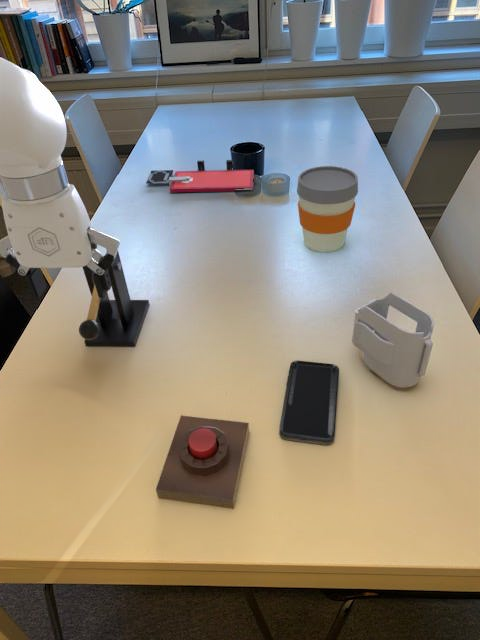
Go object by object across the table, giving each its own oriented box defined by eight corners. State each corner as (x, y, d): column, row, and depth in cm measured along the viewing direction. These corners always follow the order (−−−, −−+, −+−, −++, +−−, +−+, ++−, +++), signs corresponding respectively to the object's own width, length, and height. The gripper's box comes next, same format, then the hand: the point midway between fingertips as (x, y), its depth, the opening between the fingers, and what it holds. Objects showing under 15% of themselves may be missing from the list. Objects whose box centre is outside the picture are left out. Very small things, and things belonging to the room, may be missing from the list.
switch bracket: (135, 346, 86) (116, 278, 77) (85, 346, 87) (61, 278, 78) (149, 304, 96) (134, 238, 86) (104, 304, 96) (85, 239, 87)
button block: (233, 509, 62) (231, 492, 59) (158, 498, 64) (153, 481, 61) (249, 432, 71) (248, 414, 68) (182, 424, 73) (179, 407, 70)
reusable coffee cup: (306, 223, 116) (308, 162, 107) (359, 232, 112) (366, 169, 102) (287, 250, 108) (288, 186, 98) (343, 261, 103) (349, 195, 94)
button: (213, 460, 63) (212, 452, 62) (186, 457, 64) (185, 449, 63) (219, 438, 66) (218, 430, 65) (193, 435, 67) (192, 427, 66)
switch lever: (100, 343, 78) (93, 334, 75) (81, 343, 78) (73, 334, 76) (116, 264, 85) (110, 254, 82) (98, 264, 85) (91, 254, 82)
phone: (339, 364, 79) (334, 441, 67) (339, 369, 79) (333, 446, 68) (290, 359, 80) (277, 434, 69) (290, 364, 81) (277, 439, 70)
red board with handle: (152, 170, 145) (143, 194, 134) (151, 161, 143) (141, 184, 132) (254, 168, 143) (253, 192, 132) (254, 159, 141) (252, 182, 130)
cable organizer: (371, 341, 84) (380, 284, 76) (431, 383, 76) (448, 324, 68) (343, 358, 81) (349, 301, 74) (402, 403, 73) (416, 345, 66)
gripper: (-46, 195, 59) (4, 308, 69) (93, 192, 57) (123, 308, 68) (-16, 170, 64) (26, 278, 75) (111, 167, 63) (136, 278, 74)
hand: (72, 292), depth 71 cm, fingers open, 9 cm apart
